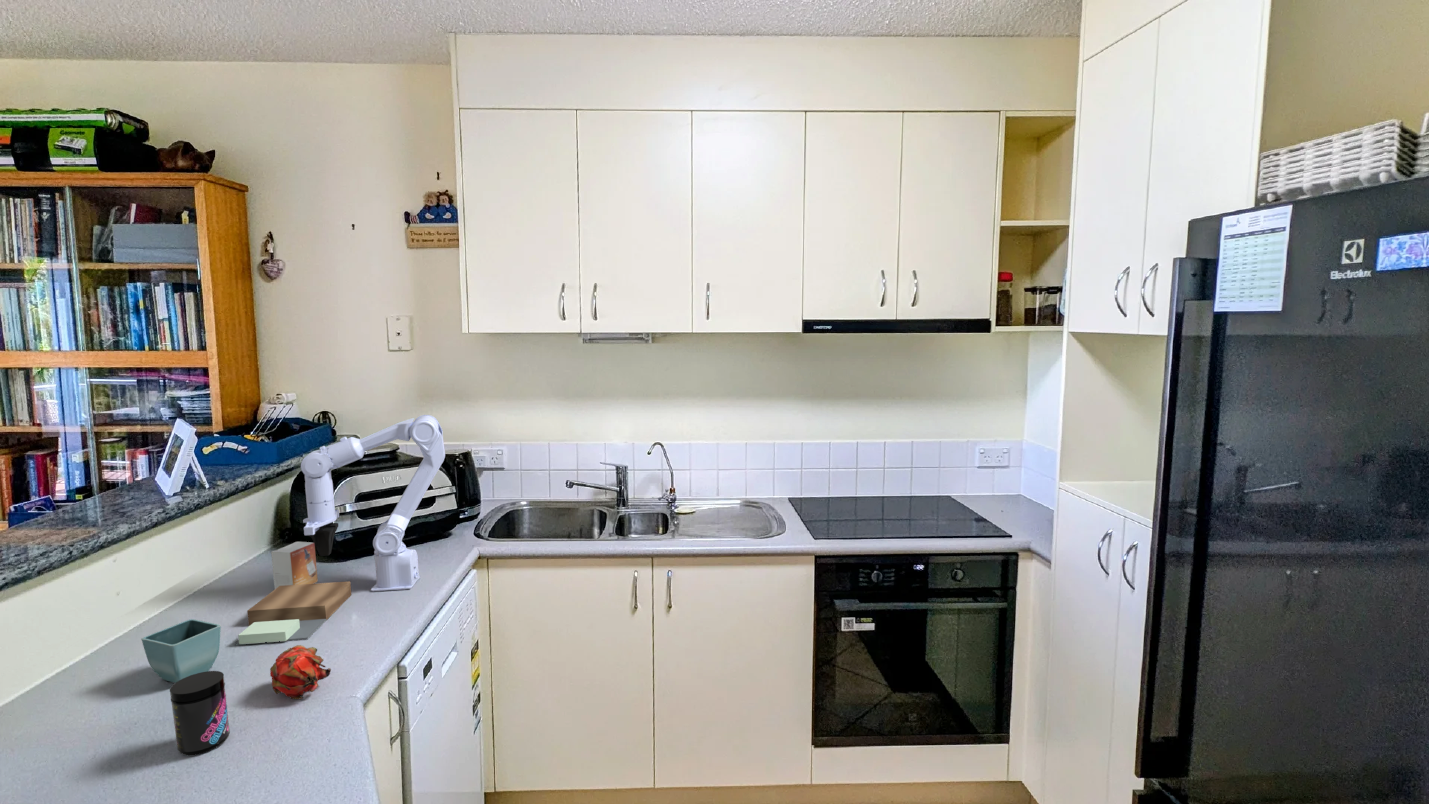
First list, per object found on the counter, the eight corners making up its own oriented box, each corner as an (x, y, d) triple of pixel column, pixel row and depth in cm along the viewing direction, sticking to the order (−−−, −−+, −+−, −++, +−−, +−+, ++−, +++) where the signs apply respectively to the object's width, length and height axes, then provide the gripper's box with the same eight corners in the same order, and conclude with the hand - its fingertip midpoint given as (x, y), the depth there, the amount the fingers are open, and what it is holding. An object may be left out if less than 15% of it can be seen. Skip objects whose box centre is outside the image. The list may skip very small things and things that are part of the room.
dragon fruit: (291, 684, 125) (317, 716, 118) (247, 676, 119) (271, 709, 111) (319, 642, 127) (346, 670, 120) (277, 631, 121) (303, 661, 114)
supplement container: (193, 762, 101) (186, 697, 99) (167, 751, 103) (159, 688, 102) (240, 736, 107) (233, 675, 106) (214, 727, 110) (207, 667, 108)
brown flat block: (351, 595, 162) (350, 581, 162) (326, 620, 148) (325, 605, 148) (280, 599, 160) (279, 585, 160) (248, 625, 146) (247, 610, 146)
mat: (326, 620, 148) (326, 618, 148) (307, 639, 140) (307, 637, 140) (258, 625, 147) (258, 623, 146) (235, 644, 138) (234, 642, 138)
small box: (293, 594, 163) (289, 552, 162) (274, 592, 165) (270, 551, 163) (318, 581, 171) (315, 542, 170) (300, 580, 172) (296, 540, 171)
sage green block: (285, 631, 138) (286, 641, 138) (299, 619, 144) (299, 627, 144) (238, 635, 137) (239, 644, 137) (254, 622, 143) (255, 631, 143)
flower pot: (227, 668, 128) (222, 624, 127) (177, 692, 120) (172, 645, 119) (195, 661, 131) (190, 618, 130) (145, 684, 123) (139, 638, 122)
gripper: (316, 493, 167) (321, 545, 169) (287, 509, 153) (293, 566, 154) (346, 492, 168) (350, 544, 170) (320, 508, 154) (325, 564, 155)
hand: (325, 554), depth 162 cm, fingers closed
